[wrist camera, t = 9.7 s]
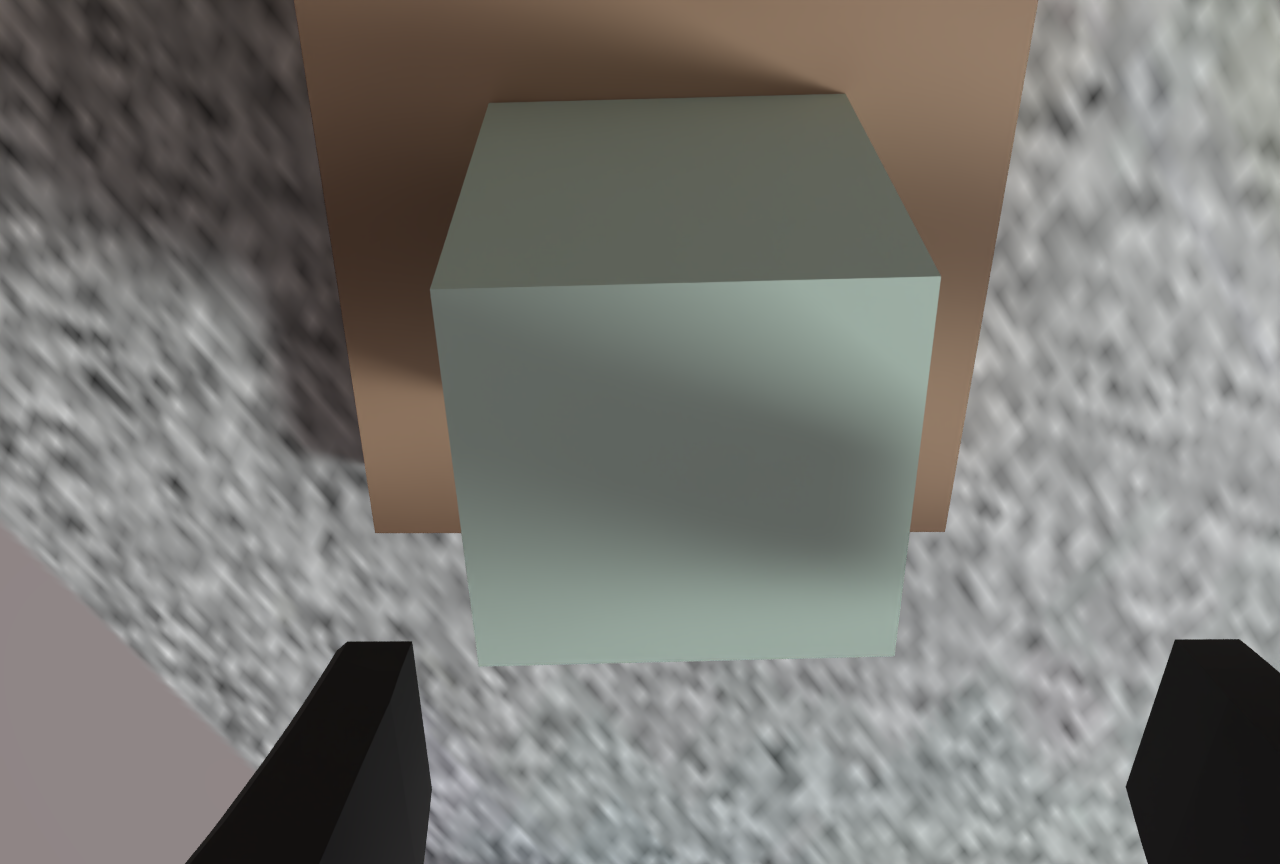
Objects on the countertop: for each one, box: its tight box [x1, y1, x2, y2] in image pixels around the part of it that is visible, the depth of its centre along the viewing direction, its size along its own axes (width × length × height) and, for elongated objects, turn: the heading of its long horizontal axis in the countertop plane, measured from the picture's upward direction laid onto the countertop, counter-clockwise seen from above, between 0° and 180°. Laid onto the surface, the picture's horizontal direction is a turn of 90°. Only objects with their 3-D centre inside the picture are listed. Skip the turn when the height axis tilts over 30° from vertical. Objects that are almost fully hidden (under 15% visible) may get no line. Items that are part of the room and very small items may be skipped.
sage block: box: [430, 94, 941, 666], centre depth 16 cm, size 5×5×6 cm
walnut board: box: [294, 0, 1038, 533], centre depth 19 cm, size 10×10×2 cm
